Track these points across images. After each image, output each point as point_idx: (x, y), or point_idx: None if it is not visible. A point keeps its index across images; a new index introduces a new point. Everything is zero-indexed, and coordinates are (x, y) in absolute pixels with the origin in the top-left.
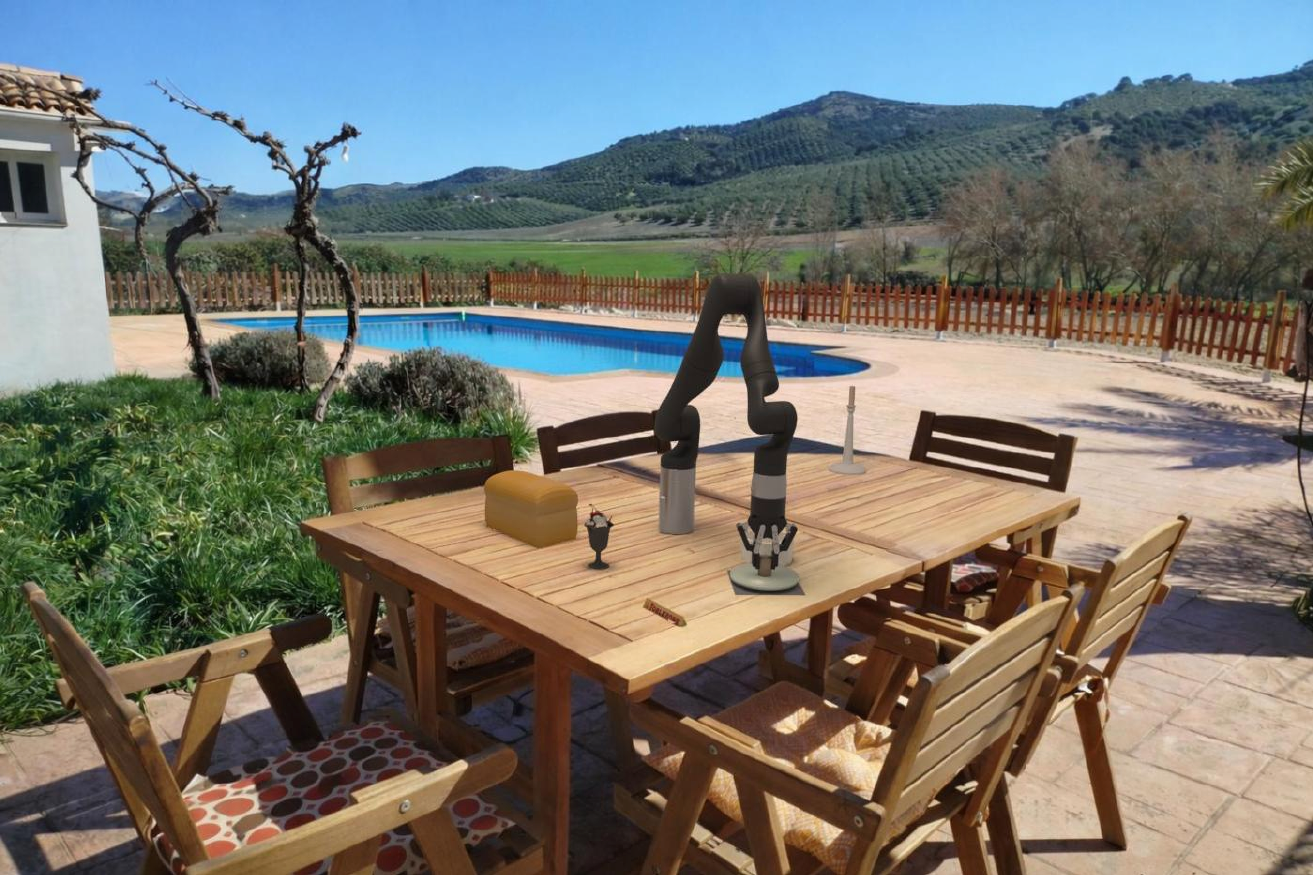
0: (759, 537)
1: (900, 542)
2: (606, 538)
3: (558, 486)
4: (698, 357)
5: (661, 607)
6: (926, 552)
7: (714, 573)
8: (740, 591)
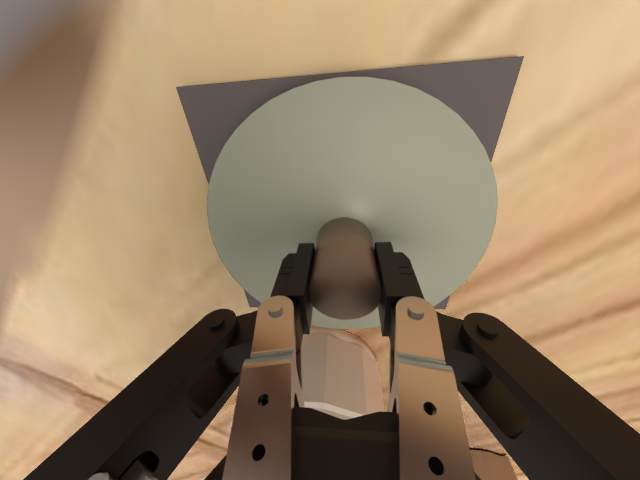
0: (439, 427)
1: (72, 409)
2: None
3: None
4: None
5: None
6: (7, 380)
7: (488, 295)
8: (475, 109)
